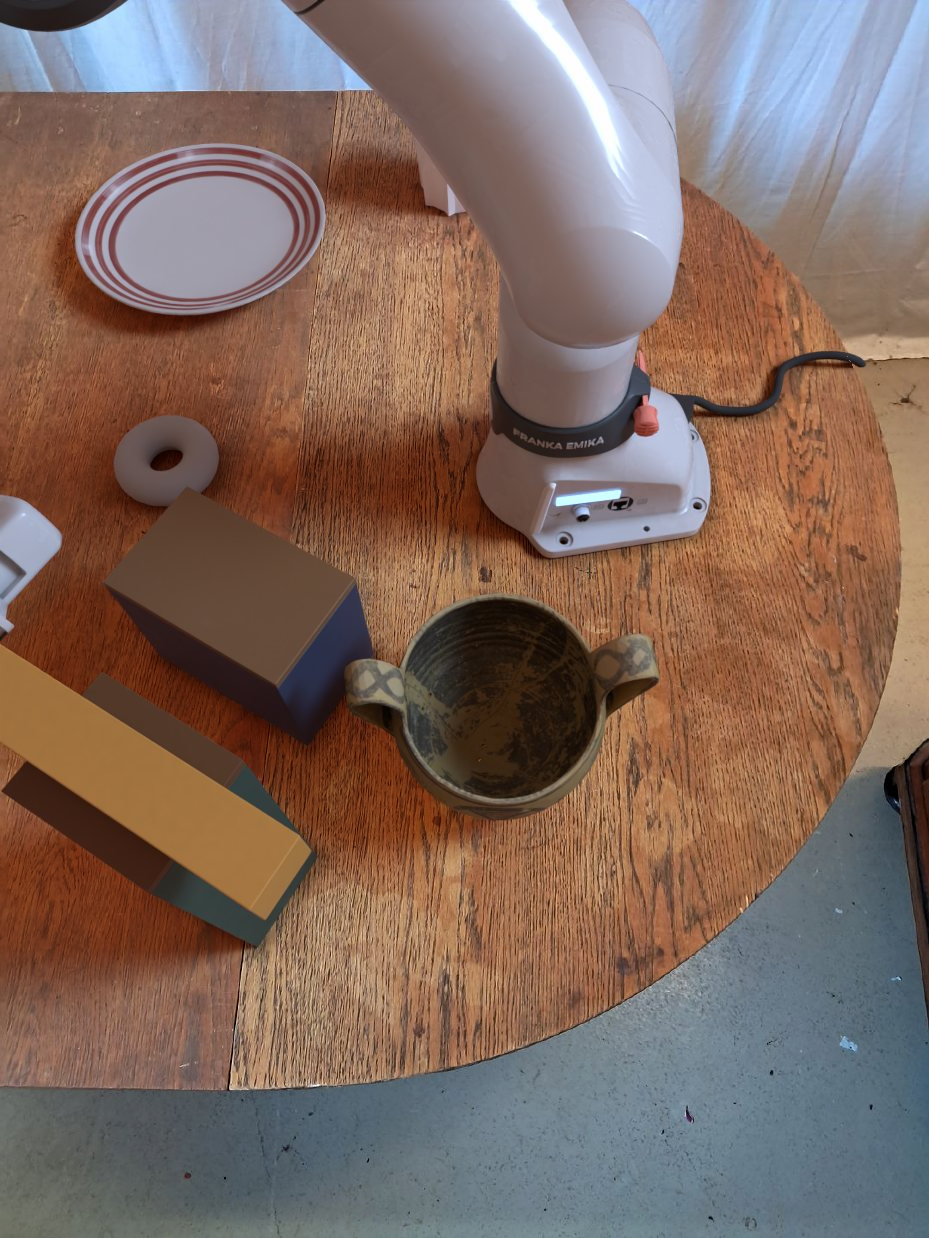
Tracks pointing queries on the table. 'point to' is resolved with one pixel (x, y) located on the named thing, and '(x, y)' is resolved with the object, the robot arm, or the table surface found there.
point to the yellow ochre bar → (147, 788)
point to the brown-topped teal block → (133, 851)
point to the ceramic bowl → (500, 703)
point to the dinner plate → (200, 229)
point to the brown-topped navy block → (244, 612)
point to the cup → (435, 184)
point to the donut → (155, 439)
